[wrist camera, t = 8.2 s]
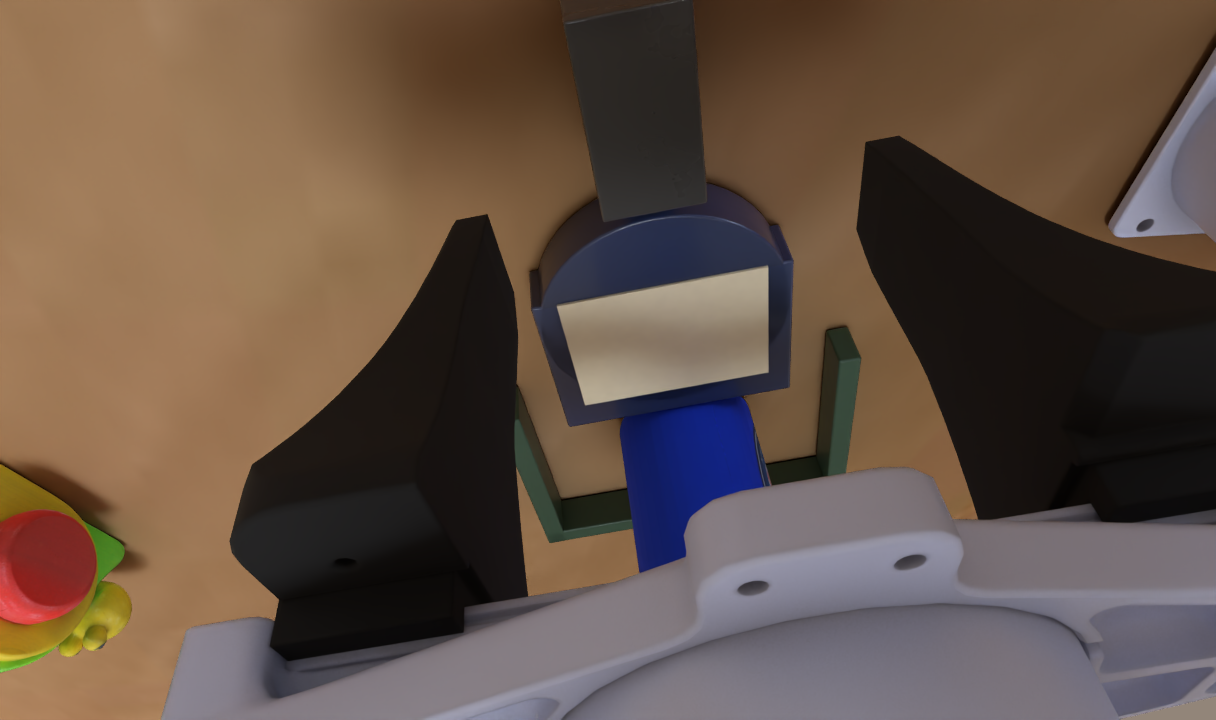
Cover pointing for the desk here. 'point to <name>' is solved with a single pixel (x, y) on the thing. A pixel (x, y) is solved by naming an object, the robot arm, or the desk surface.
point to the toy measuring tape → (53, 577)
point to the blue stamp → (655, 237)
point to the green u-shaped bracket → (831, 460)
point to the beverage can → (685, 470)
